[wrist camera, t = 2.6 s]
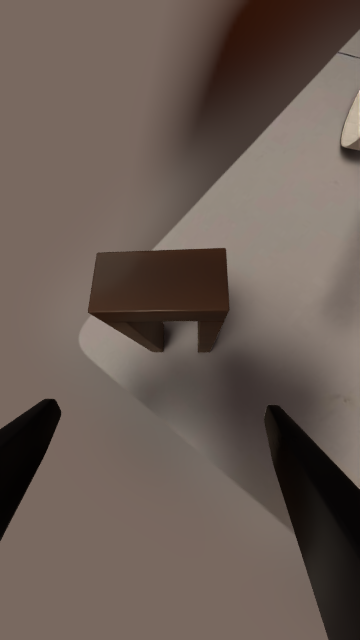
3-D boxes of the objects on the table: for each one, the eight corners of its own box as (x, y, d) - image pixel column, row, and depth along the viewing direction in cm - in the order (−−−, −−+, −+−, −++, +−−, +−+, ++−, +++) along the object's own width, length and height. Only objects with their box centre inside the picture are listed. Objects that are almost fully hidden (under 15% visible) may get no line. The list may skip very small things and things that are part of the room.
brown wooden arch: (209, 352, 20) (229, 311, 8) (152, 352, 21) (86, 312, 9) (209, 324, 21) (226, 247, 9) (153, 324, 22) (96, 252, 9)
